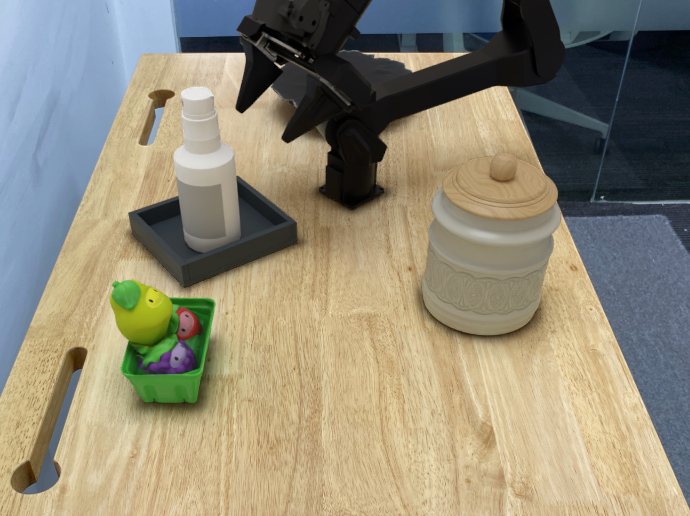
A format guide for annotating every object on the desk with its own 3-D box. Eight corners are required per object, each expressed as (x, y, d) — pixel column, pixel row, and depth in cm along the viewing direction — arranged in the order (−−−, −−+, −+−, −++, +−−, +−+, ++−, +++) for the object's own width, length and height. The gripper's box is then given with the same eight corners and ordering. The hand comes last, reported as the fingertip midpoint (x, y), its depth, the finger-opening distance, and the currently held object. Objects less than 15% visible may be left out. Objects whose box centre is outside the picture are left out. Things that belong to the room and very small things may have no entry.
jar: (418, 264, 91) (434, 122, 79) (529, 268, 90) (562, 125, 78) (422, 336, 82) (441, 187, 69) (546, 341, 81) (587, 191, 69)
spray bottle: (180, 228, 95) (159, 83, 82) (234, 219, 96) (221, 76, 84) (190, 259, 90) (169, 111, 78) (247, 249, 92) (236, 102, 79)
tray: (239, 195, 102) (238, 175, 100) (297, 243, 94) (297, 221, 92) (131, 233, 95) (127, 212, 93) (184, 287, 88) (181, 266, 85)
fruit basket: (207, 413, 73) (194, 322, 66) (115, 412, 74) (91, 320, 66) (221, 335, 82) (210, 246, 74) (137, 334, 82) (118, 244, 74)
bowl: (417, 142, 112) (420, 109, 109) (267, 141, 112) (265, 107, 109) (406, 80, 128) (409, 49, 125) (275, 79, 128) (274, 47, 125)
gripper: (245, -66, 83) (169, 61, 86) (354, -21, 73) (263, 121, 76) (304, -3, 92) (233, 110, 95) (409, 45, 82) (325, 170, 85)
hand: (260, 126), depth 88 cm, fingers open, 9 cm apart
